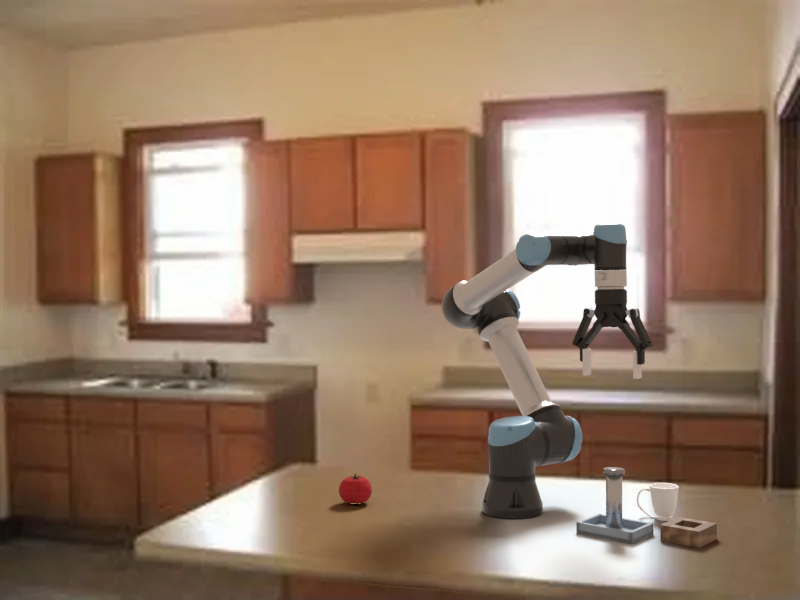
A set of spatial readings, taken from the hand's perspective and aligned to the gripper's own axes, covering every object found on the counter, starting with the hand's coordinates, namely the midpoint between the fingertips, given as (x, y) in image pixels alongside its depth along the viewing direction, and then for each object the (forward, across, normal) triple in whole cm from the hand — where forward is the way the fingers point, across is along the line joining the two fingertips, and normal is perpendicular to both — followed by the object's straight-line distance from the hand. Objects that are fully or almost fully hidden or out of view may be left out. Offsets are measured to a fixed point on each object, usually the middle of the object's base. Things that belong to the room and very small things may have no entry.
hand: (611, 376), depth 222 cm
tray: (+35, +6, -10) cm, 37 cm away
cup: (+35, +7, +9) cm, 37 cm away
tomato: (+35, -61, -27) cm, 75 cm away
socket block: (+35, +21, -4) cm, 41 cm away
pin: (+34, +6, -10) cm, 36 cm away
